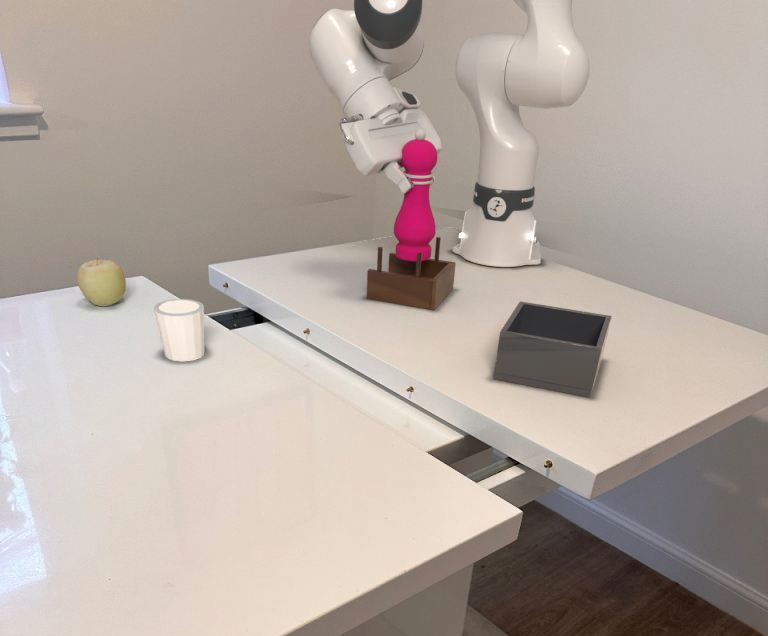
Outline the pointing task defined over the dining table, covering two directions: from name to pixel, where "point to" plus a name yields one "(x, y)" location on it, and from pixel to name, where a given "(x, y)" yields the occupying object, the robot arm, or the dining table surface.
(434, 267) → the rack
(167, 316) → the white cup
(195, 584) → the dining table surface
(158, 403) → the dining table surface
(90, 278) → the fruit
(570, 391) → the gray open box
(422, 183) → the pepper mill
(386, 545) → the dining table surface
